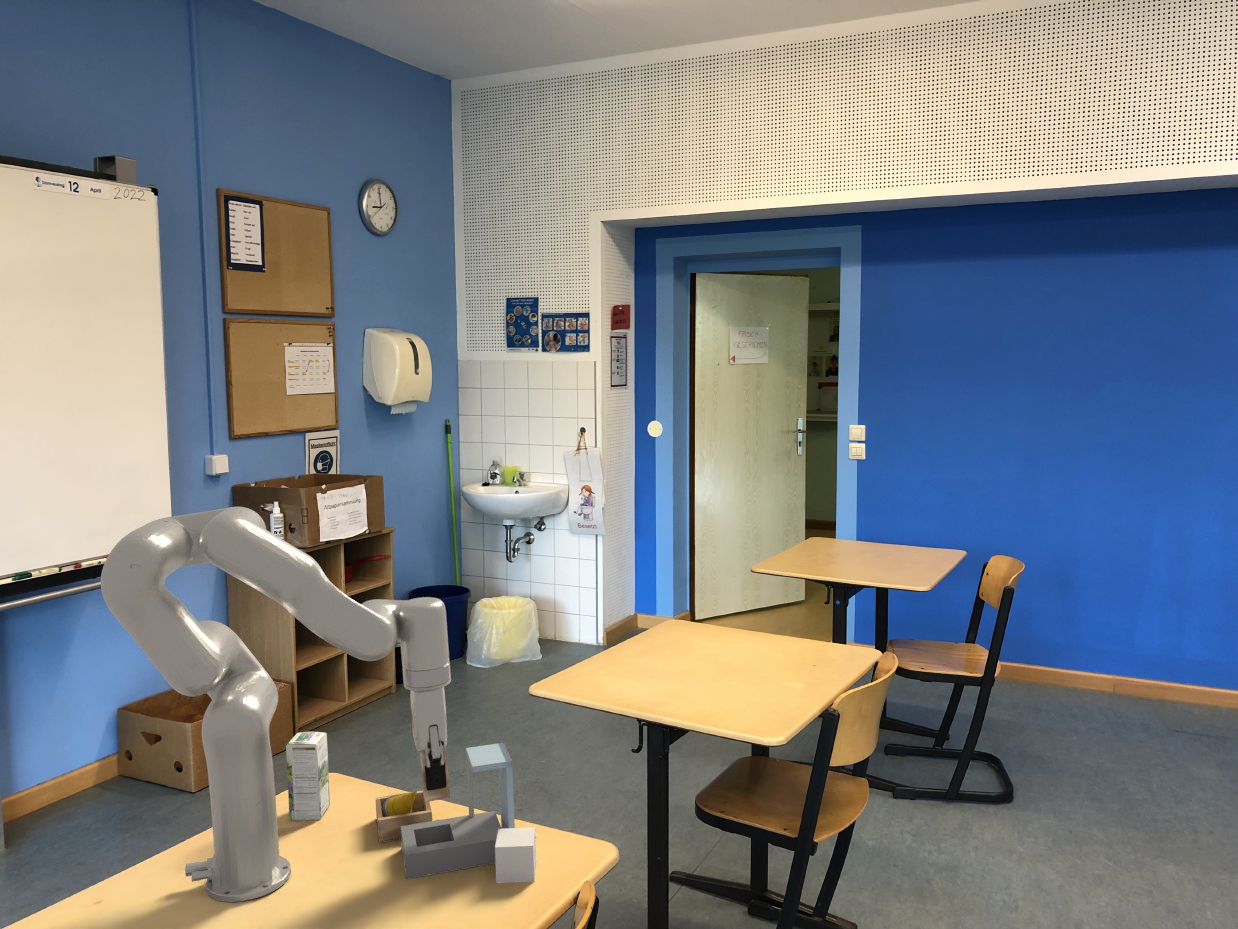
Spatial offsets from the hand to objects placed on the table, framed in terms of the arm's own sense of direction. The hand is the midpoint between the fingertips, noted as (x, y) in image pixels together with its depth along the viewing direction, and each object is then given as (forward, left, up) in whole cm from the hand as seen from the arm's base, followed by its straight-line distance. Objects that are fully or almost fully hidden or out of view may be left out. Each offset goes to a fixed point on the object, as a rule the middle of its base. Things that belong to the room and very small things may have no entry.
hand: (435, 781), depth 155 cm
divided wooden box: (-5, +13, -13) cm, 19 cm away
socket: (+2, 0, -13) cm, 13 cm away
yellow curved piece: (-5, +13, -13) cm, 19 cm away
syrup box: (-21, +24, -13) cm, 34 cm away
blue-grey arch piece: (+9, +1, -13) cm, 16 cm away
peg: (0, 0, -2) cm, 2 cm away
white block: (+11, -9, -13) cm, 20 cm away
